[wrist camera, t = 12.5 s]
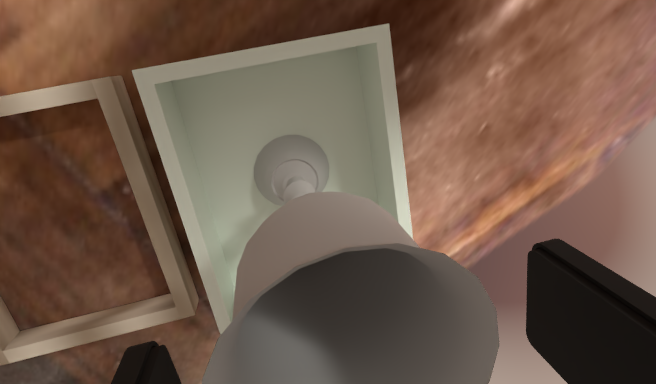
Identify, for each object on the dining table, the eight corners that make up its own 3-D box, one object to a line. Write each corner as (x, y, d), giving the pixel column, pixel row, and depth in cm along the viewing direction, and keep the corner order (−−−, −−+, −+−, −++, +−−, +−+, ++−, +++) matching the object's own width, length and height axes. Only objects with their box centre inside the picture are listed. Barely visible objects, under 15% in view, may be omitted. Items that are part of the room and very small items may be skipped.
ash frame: (121, 75, 23) (110, 76, 21) (198, 298, 28) (195, 315, 26) (-120, 119, 21) (-155, 124, 19) (11, 346, 27) (-7, 367, 25)
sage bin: (363, 31, 25) (388, 23, 20) (392, 249, 30) (418, 283, 25) (156, 69, 23) (131, 70, 18) (226, 291, 29) (221, 336, 24)
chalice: (288, 240, 27) (339, 525, 11) (214, 175, 25) (128, 412, 8) (364, 168, 27) (548, 354, 10) (295, 95, 24) (383, 174, 7)
